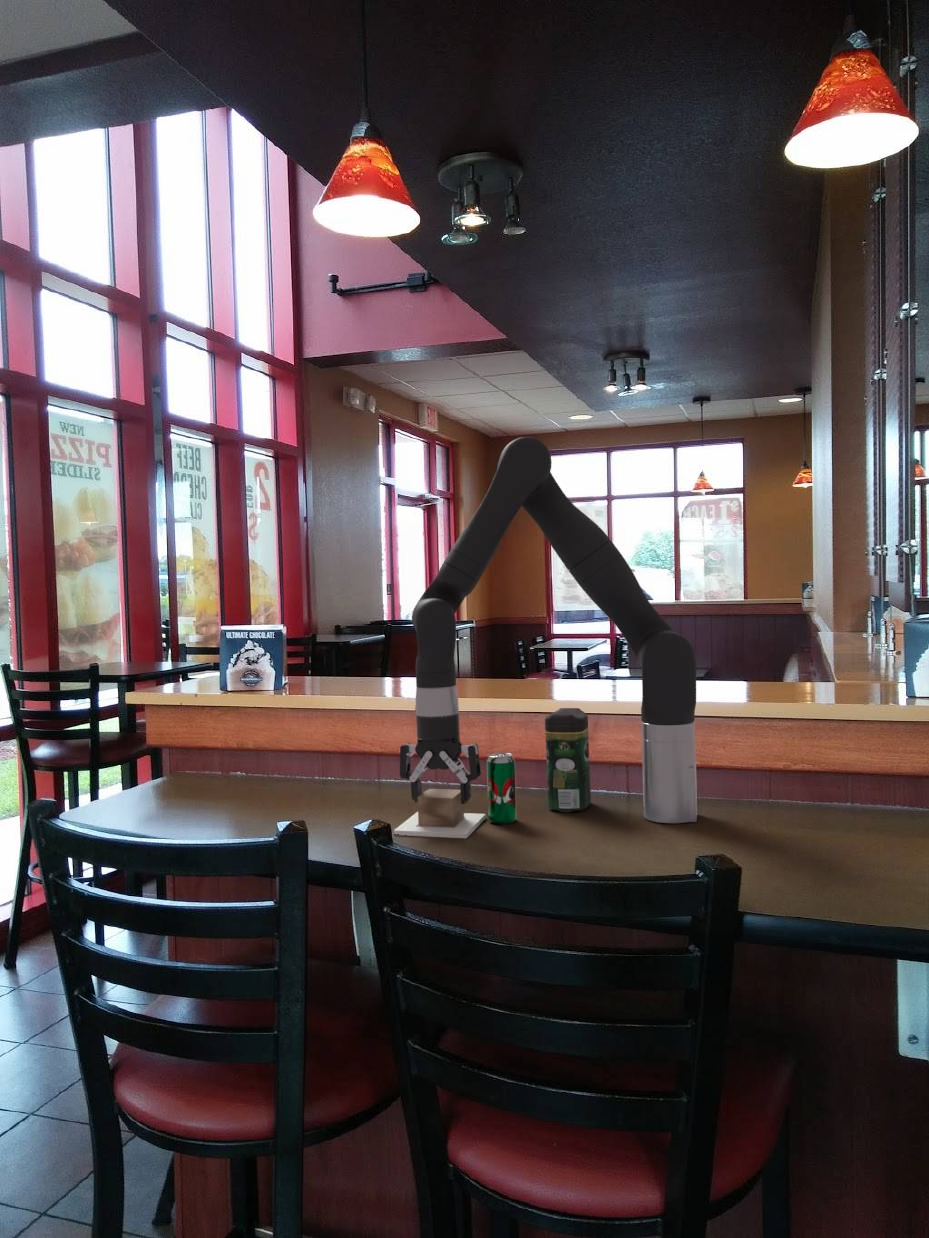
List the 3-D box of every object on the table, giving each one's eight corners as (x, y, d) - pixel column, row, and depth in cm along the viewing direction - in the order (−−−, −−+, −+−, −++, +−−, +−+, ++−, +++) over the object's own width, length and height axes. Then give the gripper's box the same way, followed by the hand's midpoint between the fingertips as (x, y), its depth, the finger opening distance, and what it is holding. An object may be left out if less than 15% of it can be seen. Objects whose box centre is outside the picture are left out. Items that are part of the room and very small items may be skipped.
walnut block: (464, 817, 165) (463, 789, 165) (453, 827, 159) (452, 798, 158) (430, 815, 167) (429, 788, 166) (418, 825, 160) (417, 797, 160)
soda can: (517, 817, 167) (515, 752, 166) (516, 825, 162) (513, 757, 161) (489, 817, 167) (487, 752, 167) (487, 825, 162) (485, 757, 162)
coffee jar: (553, 799, 179) (550, 705, 179) (594, 801, 177) (591, 705, 176) (542, 812, 170) (539, 712, 169) (585, 814, 168) (582, 713, 167)
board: (485, 818, 167) (485, 813, 167) (466, 838, 155) (466, 833, 155) (418, 815, 171) (417, 810, 171) (393, 834, 158) (393, 829, 158)
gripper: (481, 708, 163) (485, 798, 164) (406, 708, 167) (410, 796, 168) (470, 714, 156) (474, 809, 157) (391, 714, 160) (396, 806, 161)
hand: (441, 802), depth 162 cm, fingers open, 8 cm apart
